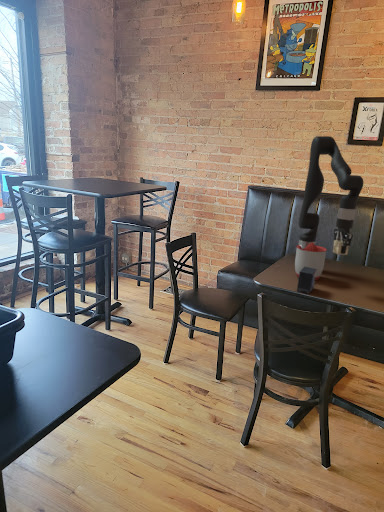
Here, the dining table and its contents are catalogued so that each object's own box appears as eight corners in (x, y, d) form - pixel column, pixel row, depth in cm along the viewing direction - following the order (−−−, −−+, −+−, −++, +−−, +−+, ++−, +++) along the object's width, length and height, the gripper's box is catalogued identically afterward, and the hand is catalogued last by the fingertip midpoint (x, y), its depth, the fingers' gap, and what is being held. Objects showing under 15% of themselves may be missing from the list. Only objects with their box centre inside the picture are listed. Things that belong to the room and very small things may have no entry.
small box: (309, 294, 171) (312, 273, 168) (296, 291, 174) (298, 271, 172) (314, 288, 180) (317, 268, 177) (301, 285, 183) (304, 266, 180)
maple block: (332, 251, 178) (334, 240, 177) (342, 252, 179) (344, 240, 177) (337, 254, 173) (339, 242, 172) (347, 254, 174) (349, 242, 172)
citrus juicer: (308, 271, 208) (313, 238, 203) (328, 281, 192) (334, 245, 187) (285, 273, 203) (289, 238, 198) (303, 283, 187) (308, 246, 182)
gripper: (331, 215, 178) (326, 248, 182) (345, 220, 164) (340, 255, 169) (345, 215, 179) (340, 248, 183) (361, 220, 165) (355, 256, 169)
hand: (340, 251), depth 176 cm, fingers closed on maple block, 5 cm apart
